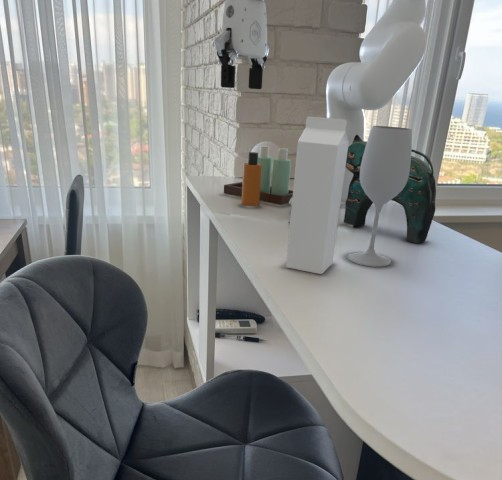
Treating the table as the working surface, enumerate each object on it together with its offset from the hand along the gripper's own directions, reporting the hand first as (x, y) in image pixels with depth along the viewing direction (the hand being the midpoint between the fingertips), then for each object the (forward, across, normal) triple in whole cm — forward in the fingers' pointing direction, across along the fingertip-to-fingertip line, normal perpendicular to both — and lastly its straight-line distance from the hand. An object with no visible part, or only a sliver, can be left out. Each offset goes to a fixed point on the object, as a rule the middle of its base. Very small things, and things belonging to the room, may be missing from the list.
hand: (241, 88), depth 107 cm
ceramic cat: (+25, +4, -34) cm, 43 cm away
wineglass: (+25, -16, -40) cm, 50 cm away
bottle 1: (+24, +12, +2) cm, 27 cm away
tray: (+25, +12, +2) cm, 28 cm away
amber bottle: (+25, +3, -2) cm, 25 cm away
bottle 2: (+24, +12, -4) cm, 27 cm away
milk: (+25, -26, -34) cm, 50 cm away
